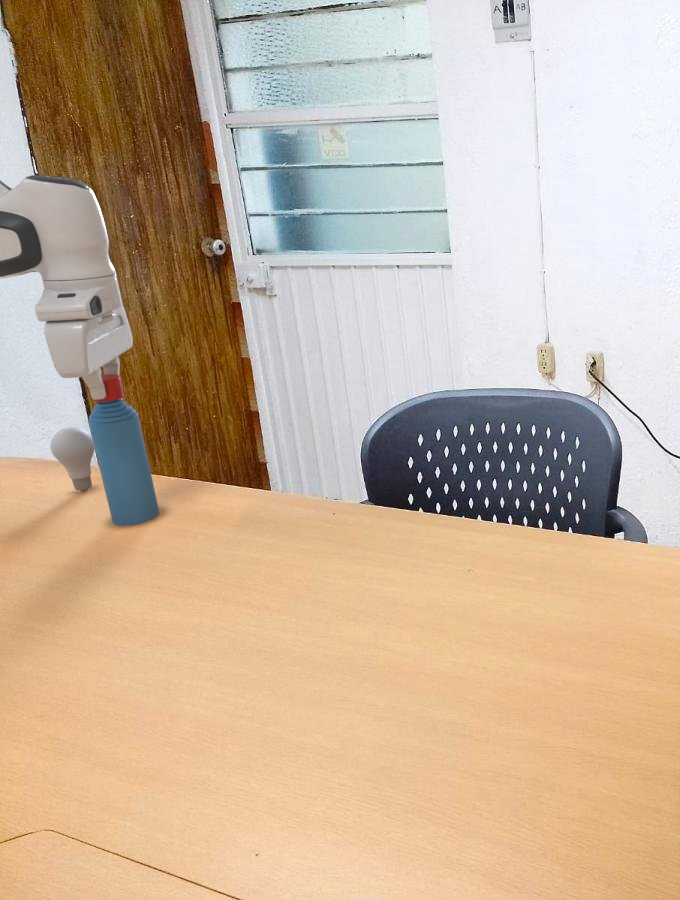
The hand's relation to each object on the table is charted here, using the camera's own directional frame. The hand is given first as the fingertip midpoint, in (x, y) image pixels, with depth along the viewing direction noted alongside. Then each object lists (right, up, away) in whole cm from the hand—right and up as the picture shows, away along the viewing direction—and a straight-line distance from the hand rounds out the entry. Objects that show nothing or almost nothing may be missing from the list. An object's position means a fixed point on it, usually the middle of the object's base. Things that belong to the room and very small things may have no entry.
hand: (107, 393), depth 120 cm
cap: (0, -1, 0) cm, 1 cm away
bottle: (+1, -19, +6) cm, 20 cm away
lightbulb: (-14, -15, +17) cm, 27 cm away
